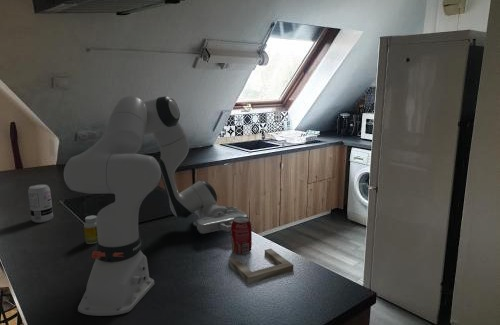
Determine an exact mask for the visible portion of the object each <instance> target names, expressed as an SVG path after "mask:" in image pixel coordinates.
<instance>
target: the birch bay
mask: <svg viewBox="0 0 500 325" xmlns="http://www.w3.org/2000/svg"><path fill="white" fill-rule="evenodd" d="M264 256H265V257H266V258H267V259H268V260H269V261H271V262H272V263H273V264H274V265H271V266H269V267H265V268H261V269H257V270H254V271H252V270H251V269H249V268H248V267H247V266H246V265H245V264H244V263H243V262H242V261H241V260H239V258H237V257H231V258H228V265H229V266H230V267H231V268H232V269H233V270H234V271H235V272H236V273H237V274H238V275H239V276H240V278H242V279H243V280H244V281H245V282H246V283H247V284H248V285H249V284H252V283H256V282H260V281H263V280H267V279H270V278H273V277H277V276H280V275H284V274H287V273H290V272H294V264H293V263H292V262H290V261H289V260H287V259H286V258H285V257H283V256H282V255H281V254H279V253H278V252H276V251H275V250H274V249H272V248H268V249H264Z"/></svg>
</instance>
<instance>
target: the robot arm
mask: <svg viewBox="0 0 500 325" xmlns="http://www.w3.org/2000/svg"><path fill="white" fill-rule="evenodd" d="M112 110H113V111H112V112H111V114H110V117H109V119H108V122H107V125H106V127H105V130H104V132H103V134H102V135H101V137H100V138H99V139H98V140H97V141H96V142H95V143H94V144H93V145H92V146H91V147H88V148H87V149H86V150H85V151H83V152H81V153H80V154H77V155H75V156H72V157H70V158H69V160H67V162H66V164H65V166H64V168H63V178H64V182H65V184H66V186H67V187H68V188H69V189H70V190H71V191H74V192H78V193H84V194H88V195H89V194H90V195H91V194H94V195H95V194H96V195H98V194H99V195H100V194H104V195H105V194H112V195H113V194H114V199H115V201H114V202H111V203H109V204H108V205H106V206H104V207H103V208H102V209H100V210H99V211H98V212H97V215H96V216H97V217H96V226H97V236H98V241H97V243H96V246H95V250H93V251H92V253H91V258H92V259H94V263H93V265H92V268H91V272H90V274H89V277H88V281H87V282H86V290H85V291H84V293H83V295H82V298H81V301H80V302H79V305H78V307H77V312H79V313H81V314H83V315H87V316H97V317H102V316H104V317H106V316H107V317H109V316H117V315H123V314H126V313H130V311H132V310H133V309H134V307H136V306H137V304H138V303H139V302H140V301H141V300H142V298H143V297H145V295H146V294H147V293H148V292H149V291H150V290H151V289H152V288H153V286H155V280H154V279H153V278H151V277H150V273H149V266H148V265H149V264H148V258H147V256H146V255H145V254H144V253H143V252H142V240H141V236H140V234H139V212H140V208H141V205H142V202H143V201H144V200H145V198H146V197H147V196H148V195H149V194H150V193H152V192H153V191H154V190H155V189H156V188H157V187H158V185H159V183H160V181H161V180H162V183H163V186H164V190H165V192H166V196H167V198H168V203H169V207H170V210H171V212H172V213H173V214H172V215H174V216H175V218H177V219H188V218H189V217H190V216H191V215H192V214H193V213H195V214H196V215H197V216H198V219H196V220H195V221H193V222H192V225H193V226H195V227H196V229H197V231H198V232H199V233H200V234H202V235H203V234H204V235H205V234H209V233H213V232H219V231H225V232H226V233H227V232H231V224H232V222H233V219H234V218H235V217H240V216H244V217H248V218H249V215H248V214H247V213H245V212H244V211H243V210H240V209H238V208H237V207H236V206H224V205H218V204H217V203H218V195H217V193H216V191H215V189H214V187H213V186H212V185H211V184H210V183H209V182H208V181H205V180H198V181H196V182H195V183H193V184H191V185H190V186H189V187H187V188H186V189H184V190H182V191H181V192H179V191H178V186H177V184H176V181H175V172H176V170H177V169H178V167H179V166H180V165H181V164H182V162H183V161H184V160H185V159H186V157H187V156H188V154H189V152H190V142H189V139H188V136H187V134H186V132H185V131H184V129H183V127H182V125H181V123H180V122H179V120H180V118H181V117H180V116H181V114H180V108H179V107H178V104H177V102H176V101H175V100H174V99H173V98H172V97H170V96H159V97H157V98H154V99H149V100H146V101H143V99H141V98H139V97H137V96H132V95H128V96H127V95H126V96H124V97H121V99H120V100H118V102H117V103H116V105H115V106H114V108H113V109H112ZM150 134H152V135H153V136H154V139H155V141H156V143H157V146H158V147H159V150H160V151H159V152H160V159H159V160H157V159H156V158H155V157H154V156H153V155H148V154H147V155H146V154H142V153H138V152H139V151H140V149H141V148H142V145H143V141H144V138H145V136H146V135H150Z"/></svg>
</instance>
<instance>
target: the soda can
mask: <svg viewBox="0 0 500 325" xmlns="http://www.w3.org/2000/svg"><path fill="white" fill-rule="evenodd" d="M252 230H253V229H252V223H251V219H250V218H249V216H248V217H244V216H240V217H235V218H234V219H233V222H232V224H231V231H230V232H231V233H230V237H231V250H232V252H233V253H235V254H236V255H240V256H244V255H248V254H249V253H250V252H251V251H252V245H253V244H252V243H253V242H252V235H253V234H252V232H253V231H252Z"/></svg>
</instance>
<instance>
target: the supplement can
mask: <svg viewBox="0 0 500 325" xmlns="http://www.w3.org/2000/svg"><path fill="white" fill-rule="evenodd" d="M51 194H52V193H51V188H50V186H49V185H48V184H46V183H45V184H44V183H42V184H34V185H31V186H29V187H28V190H27V196H28V202H29V209H30V210H29V211H30V218H31V221H32V222H34V223H38V224H39V223H46V222H49V221H51V220H52V219H53V218H54V211H53V204H52V196H51Z"/></svg>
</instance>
